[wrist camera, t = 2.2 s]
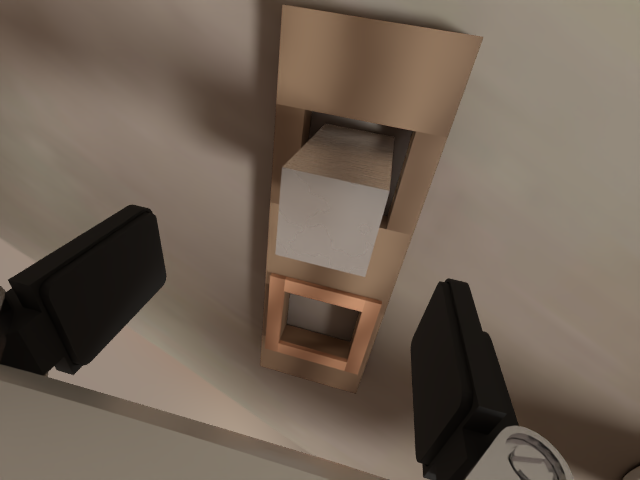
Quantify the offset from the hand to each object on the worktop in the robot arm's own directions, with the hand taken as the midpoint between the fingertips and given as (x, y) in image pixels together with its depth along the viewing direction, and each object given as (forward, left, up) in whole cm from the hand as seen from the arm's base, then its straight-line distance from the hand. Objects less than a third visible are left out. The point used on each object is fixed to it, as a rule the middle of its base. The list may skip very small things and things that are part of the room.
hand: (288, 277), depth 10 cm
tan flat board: (0, +7, -13) cm, 15 cm away
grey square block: (0, 0, -13) cm, 13 cm away
